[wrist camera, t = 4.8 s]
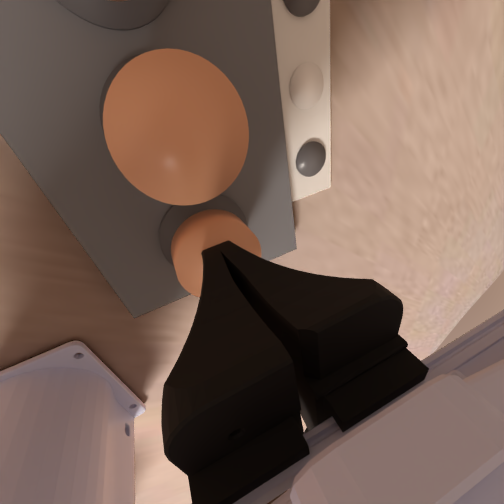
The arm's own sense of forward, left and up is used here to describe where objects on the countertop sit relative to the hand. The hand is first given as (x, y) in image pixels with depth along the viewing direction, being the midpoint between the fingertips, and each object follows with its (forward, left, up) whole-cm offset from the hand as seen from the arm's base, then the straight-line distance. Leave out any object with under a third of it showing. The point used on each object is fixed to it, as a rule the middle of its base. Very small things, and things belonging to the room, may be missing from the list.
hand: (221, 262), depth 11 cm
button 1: (0, 0, -3) cm, 3 cm away
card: (+5, -7, -4) cm, 10 cm away
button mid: (+5, 0, -1) cm, 6 cm away
